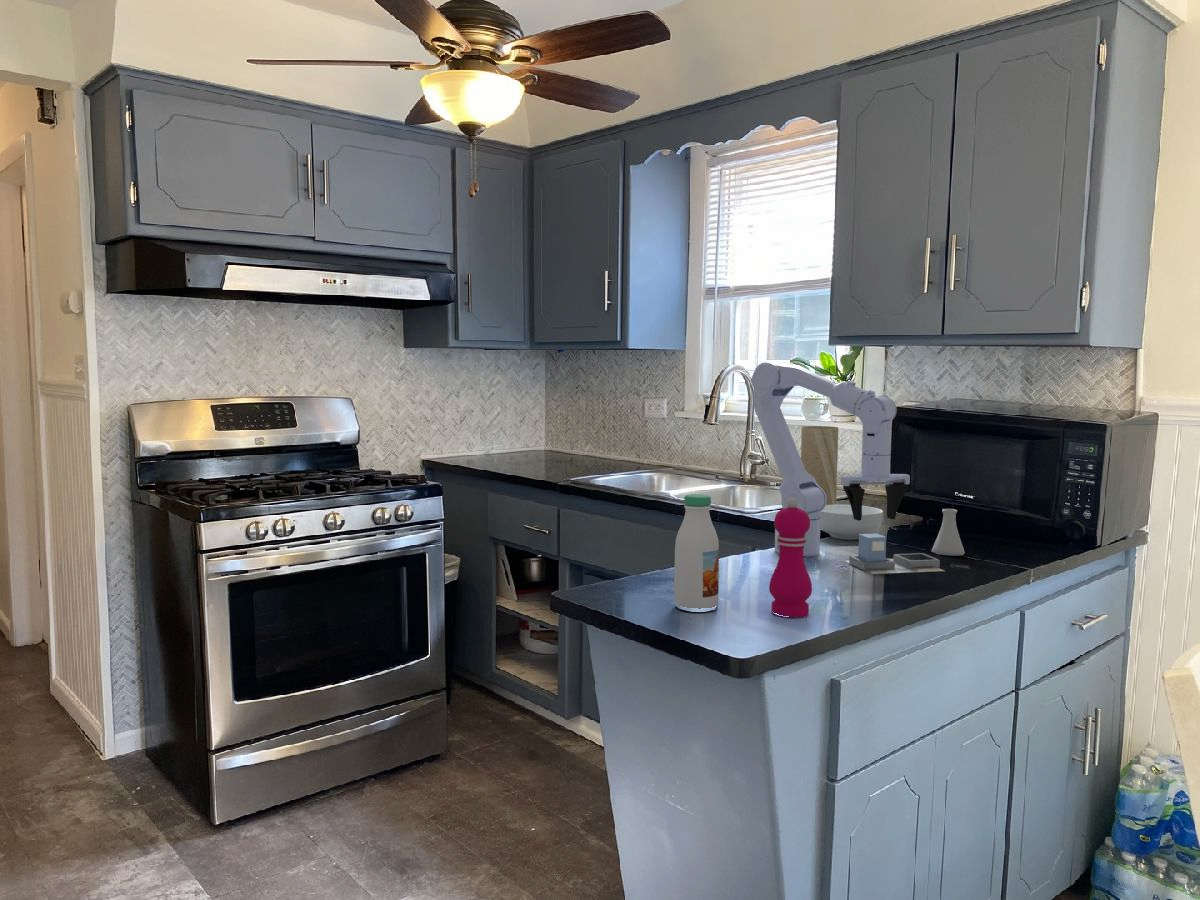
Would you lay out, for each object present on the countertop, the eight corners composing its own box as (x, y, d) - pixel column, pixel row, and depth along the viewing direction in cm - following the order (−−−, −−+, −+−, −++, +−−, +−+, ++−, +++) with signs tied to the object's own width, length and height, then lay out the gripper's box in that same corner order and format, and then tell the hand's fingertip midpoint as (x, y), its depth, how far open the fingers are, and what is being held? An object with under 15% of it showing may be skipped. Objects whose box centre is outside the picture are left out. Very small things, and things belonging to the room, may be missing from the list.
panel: (869, 578, 178) (870, 566, 178) (843, 565, 190) (843, 553, 189) (946, 575, 181) (947, 562, 180) (915, 562, 192) (916, 550, 192)
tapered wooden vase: (791, 515, 251) (794, 427, 249) (815, 511, 257) (817, 425, 255) (820, 520, 243) (822, 429, 241) (843, 516, 249) (846, 427, 247)
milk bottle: (687, 616, 152) (689, 499, 150) (666, 604, 159) (667, 493, 157) (726, 611, 155) (728, 497, 153) (704, 600, 162) (705, 491, 160)
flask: (968, 557, 198) (970, 513, 197) (933, 556, 199) (935, 511, 198) (961, 550, 205) (963, 507, 204) (928, 549, 206) (930, 506, 205)
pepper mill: (803, 621, 148) (806, 503, 146) (762, 615, 152) (764, 499, 150) (817, 611, 154) (820, 497, 152) (777, 605, 158) (779, 494, 156)
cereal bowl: (896, 538, 219) (897, 510, 218) (851, 546, 209) (852, 516, 209) (842, 527, 233) (843, 501, 232) (797, 534, 223) (798, 506, 223)
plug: (868, 569, 181) (869, 538, 180) (858, 564, 186) (858, 533, 185) (886, 569, 182) (887, 537, 181) (875, 563, 186) (876, 533, 186)
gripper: (852, 457, 179) (851, 523, 181) (918, 455, 182) (916, 521, 183) (836, 453, 186) (835, 517, 187) (900, 452, 189) (898, 515, 190)
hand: (874, 519), depth 186 cm, fingers open, 7 cm apart
